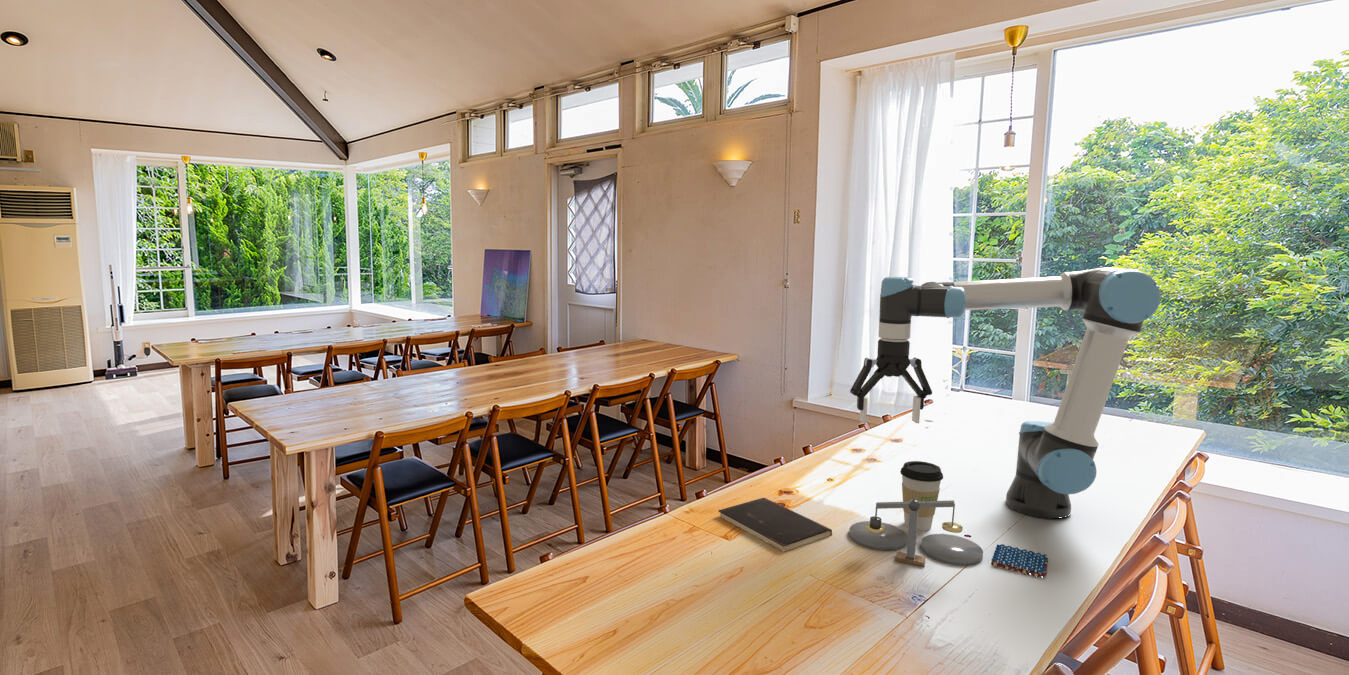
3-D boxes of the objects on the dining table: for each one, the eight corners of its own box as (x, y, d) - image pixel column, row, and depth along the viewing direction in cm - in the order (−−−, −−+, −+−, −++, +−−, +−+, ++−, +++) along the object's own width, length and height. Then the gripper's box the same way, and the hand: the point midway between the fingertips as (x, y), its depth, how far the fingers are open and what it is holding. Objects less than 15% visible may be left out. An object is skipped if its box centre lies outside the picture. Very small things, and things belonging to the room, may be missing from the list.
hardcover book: (783, 555, 150) (783, 545, 150) (718, 518, 168) (718, 510, 168) (831, 537, 159) (832, 528, 159) (765, 505, 178) (765, 496, 177)
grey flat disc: (982, 545, 155) (982, 540, 155) (982, 570, 143) (983, 565, 143) (922, 534, 160) (923, 529, 160) (918, 557, 148) (918, 552, 148)
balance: (959, 566, 145) (964, 499, 142) (958, 575, 141) (964, 506, 139) (865, 548, 152) (869, 484, 150) (862, 555, 149) (867, 490, 147)
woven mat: (1045, 582, 140) (1046, 573, 139) (990, 568, 145) (990, 559, 145) (1048, 562, 149) (1049, 553, 148) (996, 549, 154) (997, 541, 154)
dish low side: (909, 532, 161) (909, 527, 161) (904, 554, 150) (904, 549, 149) (854, 521, 167) (854, 517, 166) (845, 543, 155) (845, 538, 155)
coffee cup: (942, 536, 160) (947, 475, 157) (899, 531, 161) (903, 472, 159) (935, 519, 169) (939, 462, 167) (894, 515, 171) (898, 458, 169)
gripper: (936, 337, 172) (930, 417, 175) (840, 337, 170) (836, 418, 173) (949, 341, 164) (944, 425, 167) (849, 341, 163) (845, 426, 166)
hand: (889, 422), depth 170 cm, fingers open, 13 cm apart
